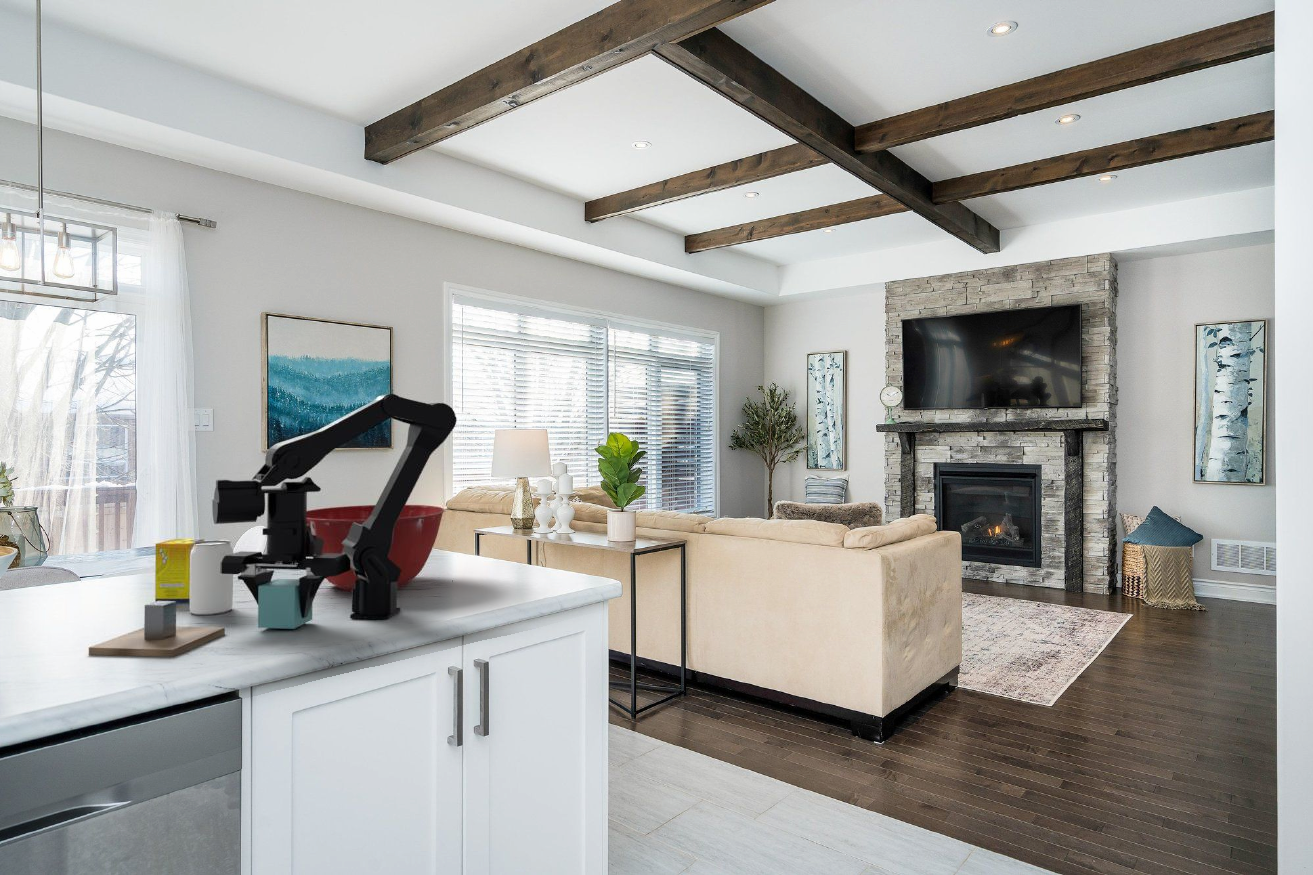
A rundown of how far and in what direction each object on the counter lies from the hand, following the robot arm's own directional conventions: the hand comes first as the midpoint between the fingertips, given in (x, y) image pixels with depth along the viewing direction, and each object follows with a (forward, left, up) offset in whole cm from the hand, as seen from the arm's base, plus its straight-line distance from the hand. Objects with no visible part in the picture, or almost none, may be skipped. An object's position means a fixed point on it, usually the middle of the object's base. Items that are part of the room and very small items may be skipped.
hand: (285, 617), depth 122 cm
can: (+18, -9, -2) cm, 20 cm away
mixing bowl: (0, -34, -2) cm, 34 cm away
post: (+13, +11, -2) cm, 17 cm away
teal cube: (0, 0, -1) cm, 1 cm away
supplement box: (+29, -17, -2) cm, 34 cm away
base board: (+13, +11, -2) cm, 17 cm away
